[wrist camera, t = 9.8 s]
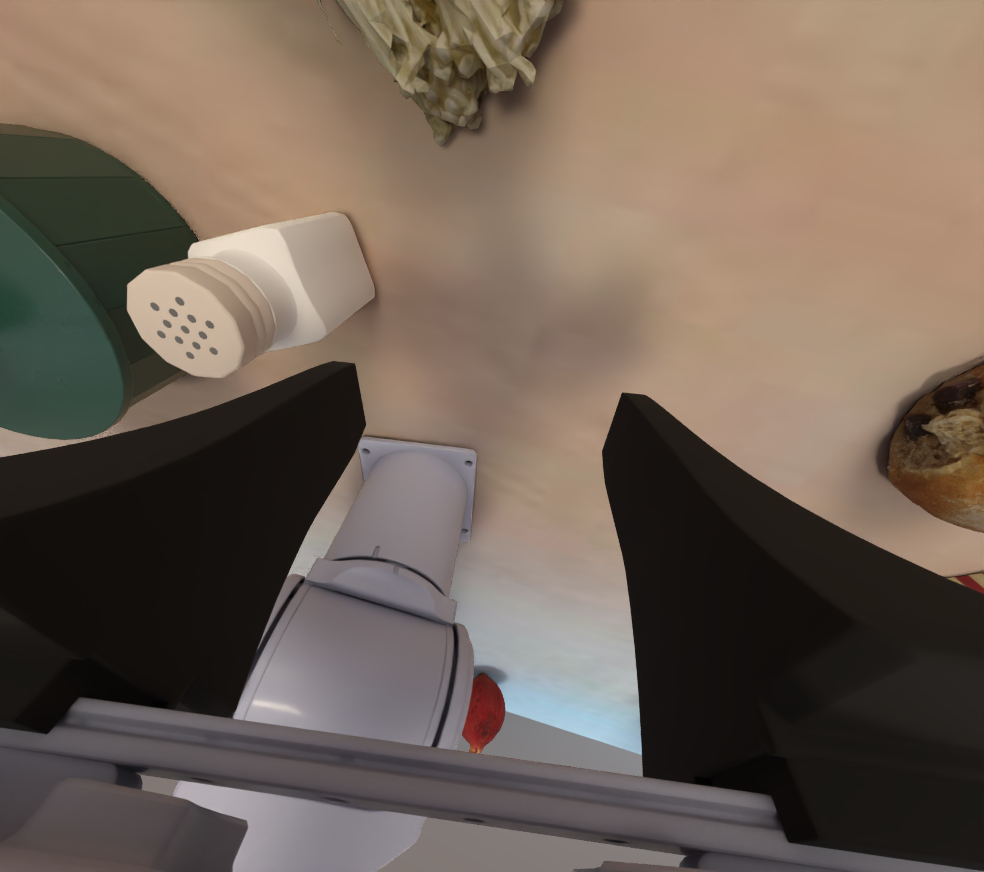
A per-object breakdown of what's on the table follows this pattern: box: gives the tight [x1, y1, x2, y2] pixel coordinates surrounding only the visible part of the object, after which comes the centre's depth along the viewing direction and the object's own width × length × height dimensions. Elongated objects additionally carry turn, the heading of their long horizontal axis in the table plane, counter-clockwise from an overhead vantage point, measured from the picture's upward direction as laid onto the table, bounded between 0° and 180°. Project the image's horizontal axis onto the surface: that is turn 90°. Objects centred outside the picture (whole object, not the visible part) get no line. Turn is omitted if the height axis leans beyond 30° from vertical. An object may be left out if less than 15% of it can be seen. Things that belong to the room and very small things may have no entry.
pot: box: [0, 123, 199, 407], centre depth 17 cm, size 11×11×6 cm
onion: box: [462, 673, 505, 754], centre depth 42 cm, size 6×6×8 cm
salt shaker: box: [127, 212, 375, 378], centre depth 14 cm, size 4×4×10 cm
